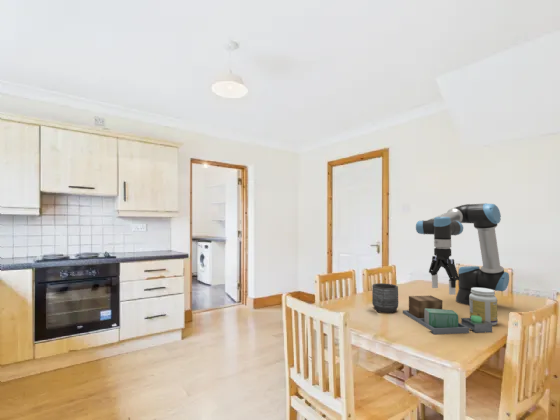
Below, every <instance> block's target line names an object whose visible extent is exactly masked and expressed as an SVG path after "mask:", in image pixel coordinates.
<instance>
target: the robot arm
mask: <svg viewBox="0 0 560 420" xmlns="http://www.w3.org/2000/svg"><path fill="white" fill-rule="evenodd" d="M501 215H502V214H501V212H500V209H499V207H498V206H497V205H496V204H494V203H486V202H485V203H476V204H475V203H472V204H470V203H468V204H467V203H466V204H461V205H459V206H458V205H457V206H455V207H453V208H450V209H448V210H447V212H445V213H442V214H440V215H437V216H435V217H433V218H430V219H427V220H419V221H417V222H416V224H415V230H416V233H417V234H419V235H433V245H434V246H433V247H434V248H433V252H434V254H433V255H432V258H431V263H430V266H429V269H428V273H429V274H430V275H431V288H432V289H438V288H439V279H438V278H439V277H438V276H439V274H438V273H439V271H440V269H441V268H443V269H444V270H445V272H446V274H447V276H448V278H449V279H448V295H450V296H451V295H456V296H455V301H456V302H457V303H459V304H463V305H467V306H470V305H469V295H470V294H471V293H472V292H471V288H487V289H492V290H494V291H495V292H496V291H497V292H504V291H506V290H507V288H508V286H509V282H510V274H509V272H507V271H505V268H504V267H503V266H501V261H500V256H499V255H500V254H499V248H498V241H497V234H496V228H497V227H498V224H500V222H501V217H502V216H501ZM463 224H473V227H474V228H475V229H476V230H477V234H478V235H477V236H478V242H479V247H480V254H481V261H482V266H481V267H480V266H478V265H477V266H476V265H471V266H470V265H468V266H467V265H466V266H460V267H459V268H458V271H457V267H456V264H455V259H454V258H451V259H450V257H452V236H458V235H461V234H462V233H463V231H464V225H463ZM457 281H458V290H457V293H456V289H457V288H456V287H457V284H456V283H457Z"/></svg>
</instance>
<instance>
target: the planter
mask: <svg viewBox="0 0 560 420" xmlns="http://www.w3.org/2000/svg"><path fill="white" fill-rule="evenodd" d="M371 288H372V289H371V290H372V291H371V292H372V293H371V294H372V295H371V296H372V300H371V302H372V306H373V308H374V309H375V310H376V312H377V313H378V314H379V313H384V314H386V313H387V314H391V313H396V311H397V309H398V308H399V286H398V285H396V284H392V283H386V282H385V283H383V282H382V283H381V282H380V283H379V282H377V283H372V286H371Z"/></svg>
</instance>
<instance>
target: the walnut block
mask: <svg viewBox="0 0 560 420" xmlns="http://www.w3.org/2000/svg"><path fill="white" fill-rule="evenodd" d="M425 308H427V309H443V299H440V298H439V297H435V296H432V295H408V310H409V313H410V314H412V315H413V316H415V317H417V318H424V309H425Z"/></svg>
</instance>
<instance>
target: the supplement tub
mask: <svg viewBox="0 0 560 420" xmlns="http://www.w3.org/2000/svg"><path fill="white" fill-rule="evenodd" d="M471 292H472V293H471V294H470V295H469V305H468V306H469V318H471V315H476V316H480V317H482V320H485V321H487V322H489V323H492V327H493V326H496V325H497V324H498V322H499V321H498V319H499V318H498V298H497V296H496V291H495V290H492V289H487V288H471Z"/></svg>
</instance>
